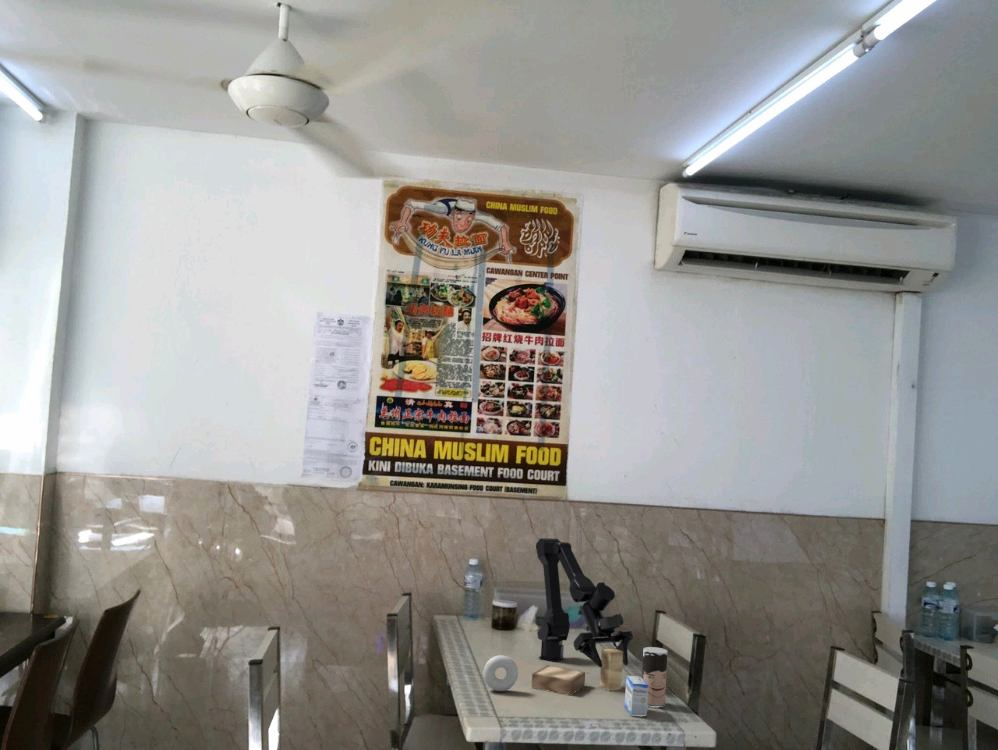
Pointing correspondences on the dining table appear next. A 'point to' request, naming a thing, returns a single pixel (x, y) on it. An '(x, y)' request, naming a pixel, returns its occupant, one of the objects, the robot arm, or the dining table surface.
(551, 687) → the plinth
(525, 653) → the dining table surface
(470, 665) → the dining table surface
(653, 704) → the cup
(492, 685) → the donut
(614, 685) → the oak block
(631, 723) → the dining table surface
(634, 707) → the medicine box
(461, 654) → the dining table surface
